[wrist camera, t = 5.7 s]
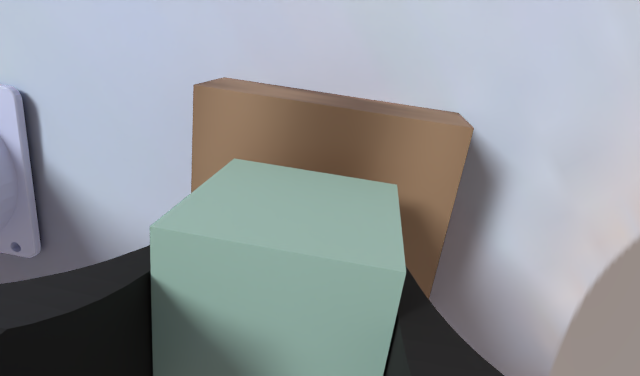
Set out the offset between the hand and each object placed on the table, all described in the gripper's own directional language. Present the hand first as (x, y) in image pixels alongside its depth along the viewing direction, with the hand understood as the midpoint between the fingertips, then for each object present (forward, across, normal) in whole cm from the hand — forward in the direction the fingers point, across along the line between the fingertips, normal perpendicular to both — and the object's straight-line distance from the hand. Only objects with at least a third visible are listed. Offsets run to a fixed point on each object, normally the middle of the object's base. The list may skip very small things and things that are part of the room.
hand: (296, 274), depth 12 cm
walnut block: (+6, 0, 0) cm, 6 cm away
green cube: (+2, 0, 0) cm, 2 cm away
